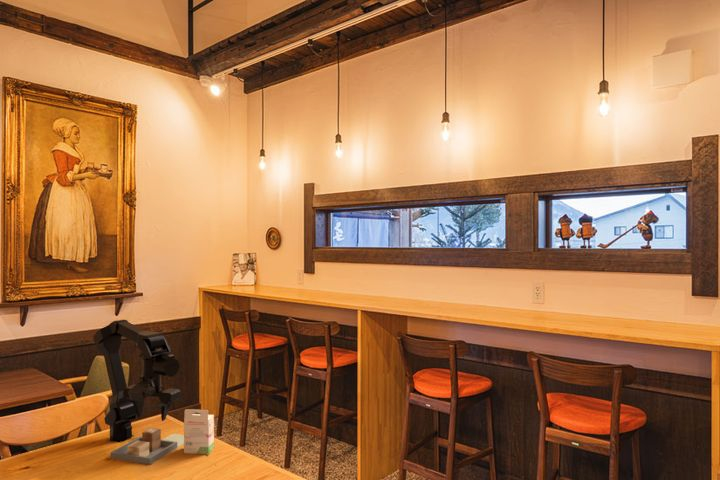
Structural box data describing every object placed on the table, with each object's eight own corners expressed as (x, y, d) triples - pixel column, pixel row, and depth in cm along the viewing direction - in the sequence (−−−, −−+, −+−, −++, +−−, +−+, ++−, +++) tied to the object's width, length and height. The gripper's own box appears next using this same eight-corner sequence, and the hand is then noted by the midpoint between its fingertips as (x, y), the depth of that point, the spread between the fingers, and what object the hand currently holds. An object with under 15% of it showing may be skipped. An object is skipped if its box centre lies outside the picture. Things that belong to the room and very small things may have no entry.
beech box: (127, 458, 153) (127, 446, 153) (137, 452, 158) (137, 440, 158) (139, 460, 152) (139, 447, 152) (149, 454, 156) (149, 442, 156)
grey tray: (110, 460, 154) (110, 452, 154) (139, 443, 166) (139, 436, 166) (150, 466, 149) (150, 458, 149) (177, 449, 162) (177, 441, 162)
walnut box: (142, 450, 159) (142, 431, 159) (150, 445, 163) (150, 427, 163) (152, 452, 158) (152, 433, 158) (160, 447, 162) (160, 428, 162)
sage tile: (155, 445, 165) (155, 443, 165) (172, 435, 174) (172, 433, 174) (178, 448, 162) (178, 447, 162) (194, 438, 171) (194, 436, 171)
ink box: (214, 449, 162) (215, 405, 162) (208, 456, 157) (208, 410, 157) (189, 448, 163) (190, 404, 163) (182, 454, 158) (183, 409, 158)
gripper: (110, 375, 156) (109, 424, 156) (159, 381, 150) (158, 431, 150) (135, 367, 166) (134, 412, 166) (182, 372, 161) (181, 419, 161)
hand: (151, 419), depth 161 cm, fingers open, 9 cm apart
